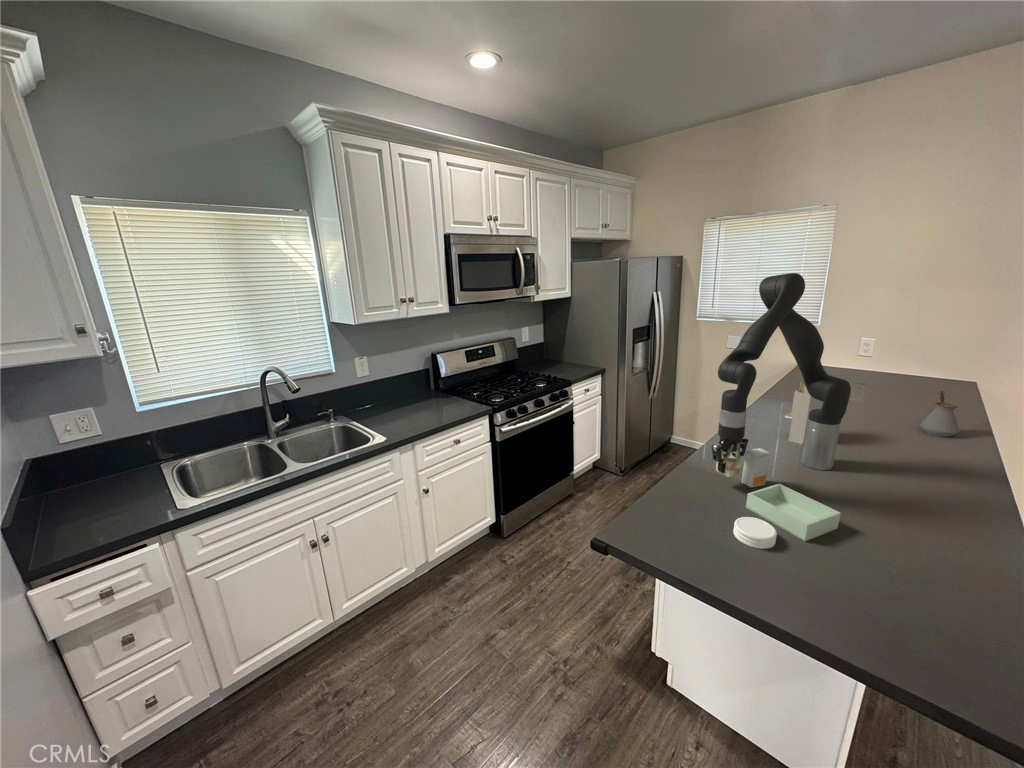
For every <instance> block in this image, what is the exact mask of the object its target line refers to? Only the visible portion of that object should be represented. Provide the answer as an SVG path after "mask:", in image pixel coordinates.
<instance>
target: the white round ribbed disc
mask: <svg viewBox="0 0 1024 768" xmlns="http://www.w3.org/2000/svg"><path fill="white" fill-rule="evenodd" d="M733 525H734V526H733V530H732V532H733V536H734V537H735V538H736V539H737V540H738V541H739V542H740V543H742V544H744V545H746V546H749V547H751V548H754V549H761V550H767V549H771V548H773V547H774V546H775V545H776V540H777V536H778V532H777V530H776V528H775V527H774V526H773V525H772V524H770V522H767V521H765V520H764V519H761V518H758V517H757V518H756V517H752V516H742V517H738V518H737V519H735V521H734V524H733Z"/></svg>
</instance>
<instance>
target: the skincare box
mask: <svg viewBox="0 0 1024 768" xmlns="http://www.w3.org/2000/svg"><path fill="white" fill-rule="evenodd" d="M770 456H771V452H769V451H767V450H765V449H763V448H761V447H758V448H752V449H746V451H745V454H744V459H743V460H744V461H743V469H742V475H741V476H742V477H741V483H742V484H744V485H745V486H748V487H749V488H755V487H761V486H765V485H766V482H767V481H766V480H767V475H768V467H769V463H770V462H769V461H770Z"/></svg>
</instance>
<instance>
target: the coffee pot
mask: <svg viewBox="0 0 1024 768" xmlns="http://www.w3.org/2000/svg"><path fill="white" fill-rule="evenodd" d="M937 394H938V395H940V396H939V400H940V402H934V405H935V408H934V409H933V410H932V411H931V412H930V413H929V414H928V415H927V416H926V417H925V418H924V419H923V420H922V421H921V422H920V424H919V426H920V428H921V429H922V430H923V431H925V433H927V434H929V435H931V436H936V437H942V438H951V437H952V436H955V435H958V434H959V433H960V430H961V429H960V427H959V424H958V423H959V422H958V421H957V418H956V415H955V412H954V411H955V409H957V408H958V407H959V406H958V405H956V404H954V403H949V402H945V396H944V395H945V394H946V392H945V391H943V390H941V391H938V392H937Z"/></svg>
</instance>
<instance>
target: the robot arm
mask: <svg viewBox="0 0 1024 768" xmlns="http://www.w3.org/2000/svg"><path fill="white" fill-rule="evenodd" d="M805 289H806V281H805V279H804V277H803V275H802V274H800V273H797V272H791V273H790V272H789V273H788V272H787V273H781V274H777V275H770V276H767V277H765V278H763V279H762V280H761V282H760V284H759V289H758V291H759V296H760V299H761V302H763V305H764V306H765V308H766V309H767V311H766V312H764V313H763V314H762V315H761V316H760V317H759V318H758V319H756V320H755V321H754V322H753V323H752V324H751V325H749V327H748V328H747V330H745V332H744V333H743V336H742V337H741V339H740V340H739V343H738V345H737V346H736V347H735V348H734V349H733V350H732V351H731V352H730V353H729V354H728V355H727V356H726V357H725V358H724V359H723V360H722V361H721V363H720V364H719V367H718V369H717V377H718V379H719V380H720V381H722V382H724V383H729V384H734V385H737V387H736V389H726V390H724V391H723V392H722V395H721V405H720V411H719V418H718V430H717V434H718V436H719V441H718V443H717V444H711V453H712V460H713V461H715V462H716V461H717V462H718V471H719V472H721V473H725V467H726V460H727V457H729V456H730V455H731V456H734V457H736V458H738V459H740V460H741V457H745V453H746V450H747V447H748V443H749V439H748V438H746V437H745V433H746V424H747V404H748V397H749V395H750V392H751V390H752V387H753V385H754V384H755V381H756V379H757V373H758V372H757V369H756V366H754V364H752V363H749V361H757V360H758V359H759V358H761V356H762V354H763V352H764V350H765V348H766V346H767V345H768V343H769V342H770V340H771V337H773V334H774V333H775V331H776V330H777V329H779V330H780V332H781V334H782V336H783V337H784V339H785V342H786V344H787V346H788V348H789V350H790V353H791V354H792V357H794V360H795V363H796V365H797V367H798V369H799V370H800V372H801V376H802V378H803V382H804V384H805V385H804V386H806V388H807V391H808V393H809V394H810V395H811V396H812V397H813V398H815V399H817V401H820V402H823V403H822V406H821V408H816V409H814V410H811V411H810V412H809V417H808V423H807V429H806V435H805V441H804V444H803V448H802V454H801V460H800V461H801V464H803V466H805V467H808V468H811V469H814V470H819V471H829V470H832V468H833V467H834V464H835V458H836V453H837V449H838V443H839V442H838V440H839V434H840V429H841V423H842V419H843V418H844V416H845V415H846V412H847V409H848V405H849V401H850V398H851V391H852V388H851V384H850V382H849V381H848V380H845V379H843V378H841V377H838V376H837V377H836V376H833V375H829V374H828V373H827V371H826V370H825V368H824V367H823V364H822V361H821V360H822V356H823V353H824V349H825V344H824V341H823V338H822V336H821V334H820V333H819V330H818V329H817V327H816V325H815V324H813V322H811V321H809V320H808V319H807V318H805V316H802V315H801V314H800V313H798V312H797V311H796V310H795V309H794V307H795V306H796V305H797V304H798V302H799V301H800V299H801V298H802V297H803V295H804V292H805ZM722 455H723V456H724V457H723V459H722ZM719 472H718V473H719ZM721 473H720V474H721Z"/></svg>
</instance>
